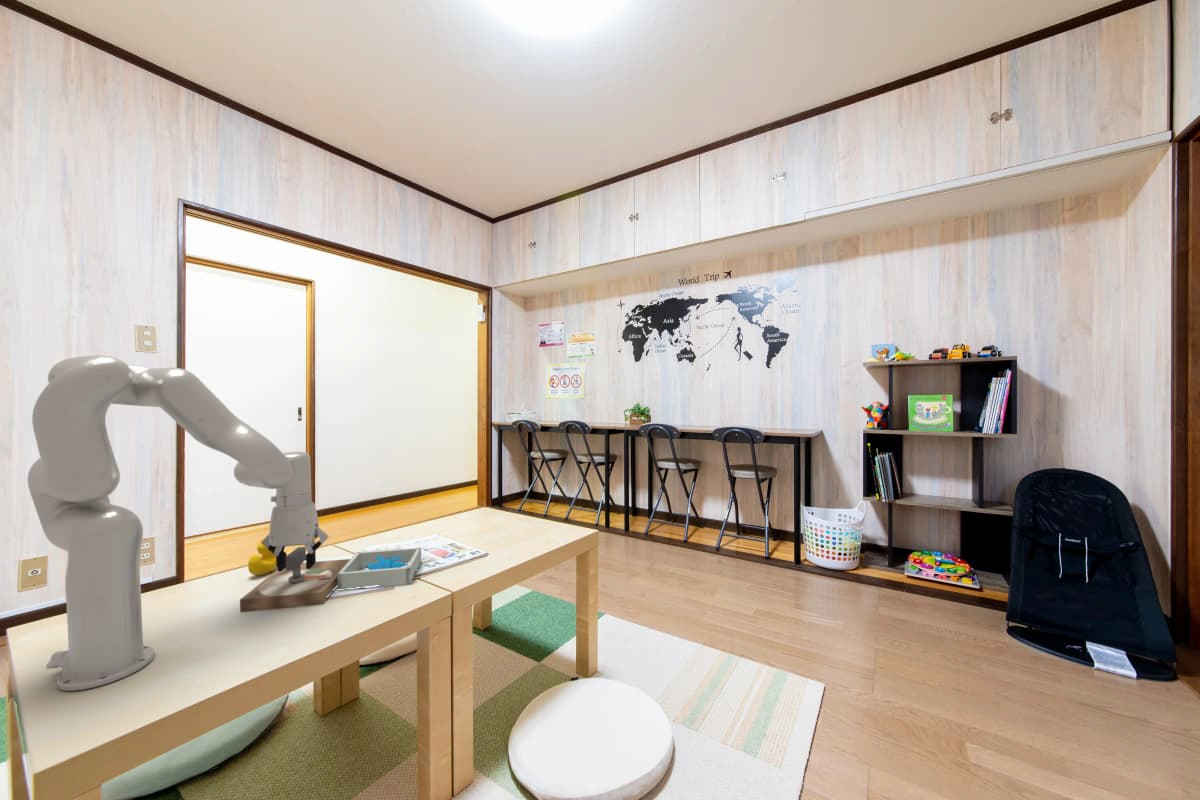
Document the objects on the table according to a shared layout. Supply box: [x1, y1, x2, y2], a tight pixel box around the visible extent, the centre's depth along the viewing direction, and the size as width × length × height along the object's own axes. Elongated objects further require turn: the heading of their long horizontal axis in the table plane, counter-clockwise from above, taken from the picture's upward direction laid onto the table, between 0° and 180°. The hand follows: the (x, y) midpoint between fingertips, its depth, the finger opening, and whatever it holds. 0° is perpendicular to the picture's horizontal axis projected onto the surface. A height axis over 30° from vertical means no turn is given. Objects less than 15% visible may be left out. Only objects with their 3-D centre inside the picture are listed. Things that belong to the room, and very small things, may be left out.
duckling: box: [247, 537, 278, 576], centre depth 132 cm, size 11×5×10 cm, turn 178°
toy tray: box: [337, 546, 422, 590], centre depth 129 cm, size 18×16×4 cm
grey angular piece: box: [286, 546, 327, 583], centre depth 118 cm, size 9×7×8 cm
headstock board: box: [239, 558, 351, 613], centre depth 121 cm, size 18×22×3 cm
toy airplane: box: [365, 555, 406, 570], centre depth 129 cm, size 12×10×4 cm
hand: (296, 567), depth 118 cm, fingers open, 5 cm apart
